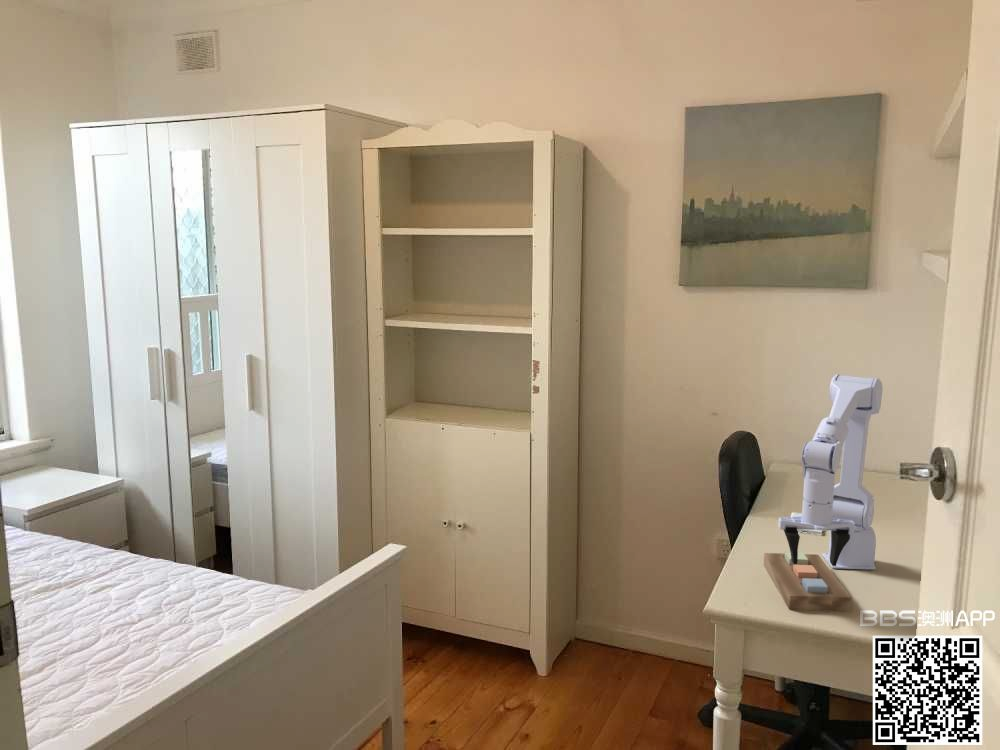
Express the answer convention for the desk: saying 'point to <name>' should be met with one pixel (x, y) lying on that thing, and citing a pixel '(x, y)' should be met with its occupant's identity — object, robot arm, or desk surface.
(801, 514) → the hard drive
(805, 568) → the terracotta button
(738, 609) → the desk surface
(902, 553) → the desk surface
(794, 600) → the button panel
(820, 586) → the slate button
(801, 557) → the sage button
